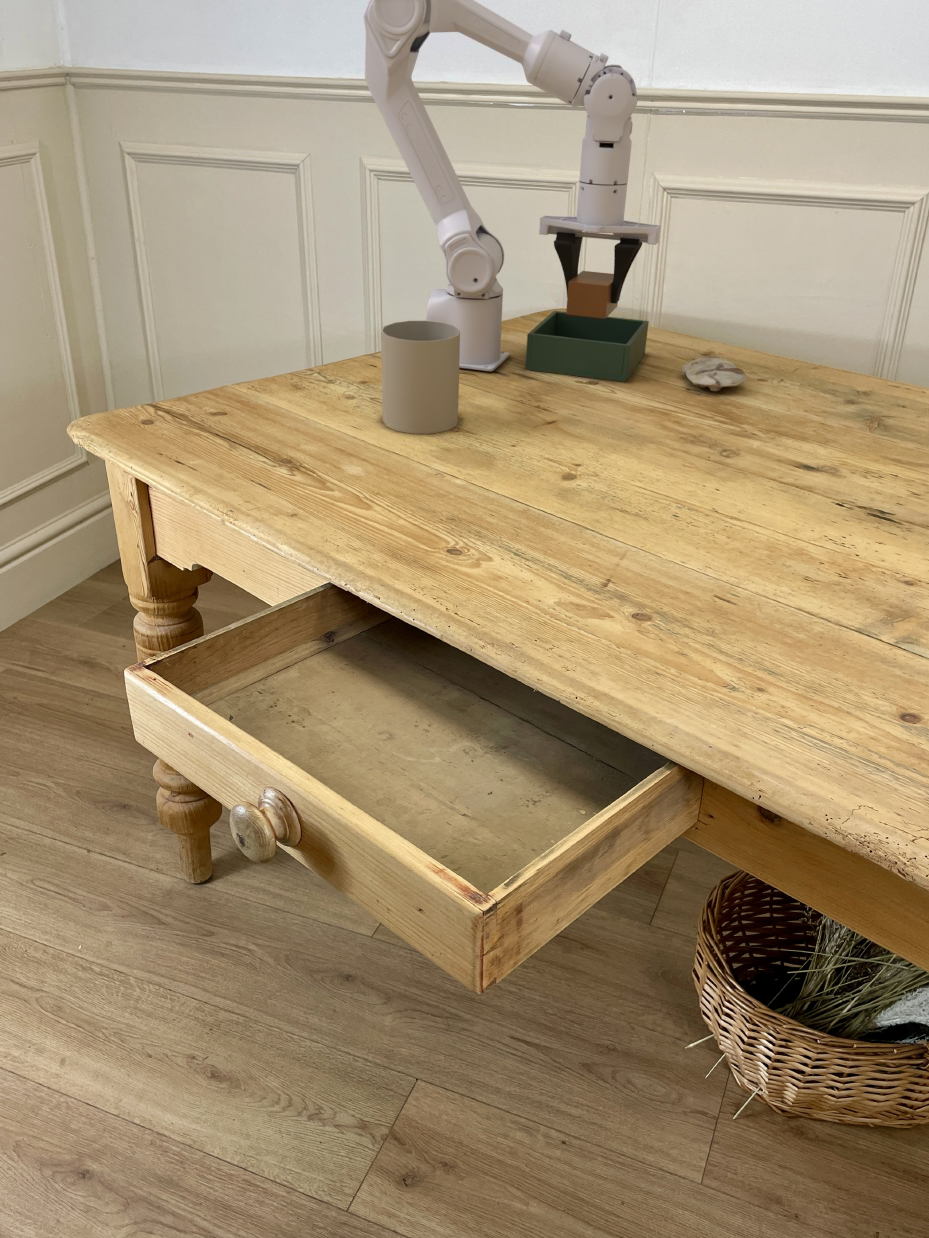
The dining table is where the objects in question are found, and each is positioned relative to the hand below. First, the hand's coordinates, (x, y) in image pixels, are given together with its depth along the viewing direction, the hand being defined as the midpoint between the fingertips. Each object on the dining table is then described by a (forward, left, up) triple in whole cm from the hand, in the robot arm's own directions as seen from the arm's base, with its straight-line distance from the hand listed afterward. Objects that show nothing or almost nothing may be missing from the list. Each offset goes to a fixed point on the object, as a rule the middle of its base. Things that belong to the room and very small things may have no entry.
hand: (592, 299), depth 125 cm
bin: (-1, +3, -9) cm, 9 cm away
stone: (+16, 0, -9) cm, 19 cm away
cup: (-13, -27, -9) cm, 31 cm away
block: (0, 0, -1) cm, 1 cm away
